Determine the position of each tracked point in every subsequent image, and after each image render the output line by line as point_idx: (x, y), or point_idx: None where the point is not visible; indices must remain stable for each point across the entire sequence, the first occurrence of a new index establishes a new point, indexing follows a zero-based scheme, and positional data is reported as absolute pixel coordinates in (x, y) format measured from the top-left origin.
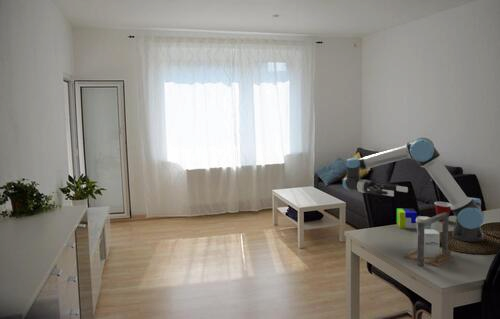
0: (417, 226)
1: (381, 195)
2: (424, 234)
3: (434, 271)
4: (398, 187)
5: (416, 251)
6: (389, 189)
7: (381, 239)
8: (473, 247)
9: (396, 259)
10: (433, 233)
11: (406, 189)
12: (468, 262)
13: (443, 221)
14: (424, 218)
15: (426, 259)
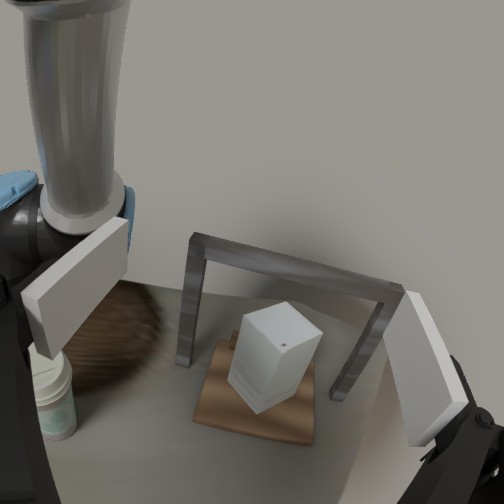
0: (55, 413)
1: (426, 454)
2: (321, 336)
3: (341, 365)
4: (65, 293)
5: (251, 425)
6: (42, 442)
7: None
8: (103, 305)
9: (350, 458)
10: (300, 314)
11: (124, 245)
12: (228, 318)
13: (202, 275)
14: (35, 360)
15: (299, 387)
